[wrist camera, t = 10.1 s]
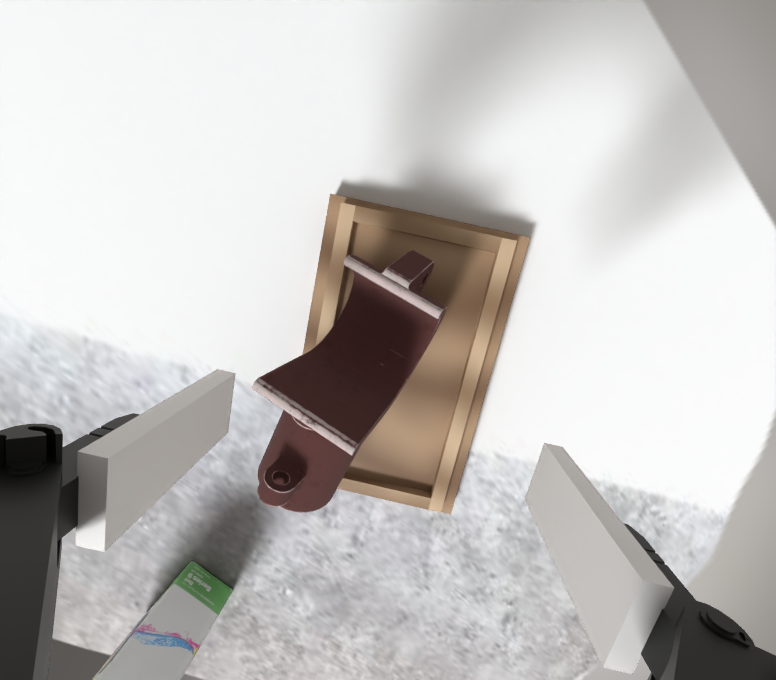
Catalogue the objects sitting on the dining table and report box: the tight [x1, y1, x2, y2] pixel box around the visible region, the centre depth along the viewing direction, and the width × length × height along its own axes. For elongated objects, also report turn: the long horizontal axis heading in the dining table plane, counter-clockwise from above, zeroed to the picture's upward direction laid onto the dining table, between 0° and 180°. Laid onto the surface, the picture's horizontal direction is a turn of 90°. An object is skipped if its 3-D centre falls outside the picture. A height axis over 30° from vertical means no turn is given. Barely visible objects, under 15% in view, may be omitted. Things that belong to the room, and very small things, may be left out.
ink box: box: [92, 561, 233, 680], centre depth 29 cm, size 9×5×12 cm, turn 140°
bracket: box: [252, 250, 447, 512], centre depth 23 cm, size 6×17×10 cm, turn 151°
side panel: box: [303, 194, 530, 514], centre depth 28 cm, size 22×14×2 cm, turn 168°
